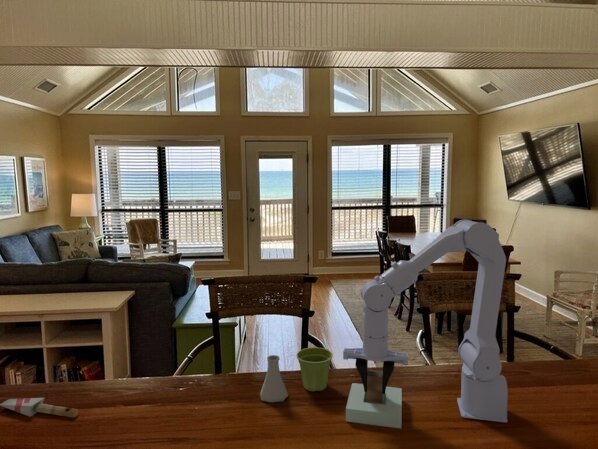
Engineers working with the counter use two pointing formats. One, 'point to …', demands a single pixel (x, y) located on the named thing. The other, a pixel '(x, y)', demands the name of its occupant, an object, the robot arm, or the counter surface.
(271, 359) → the flask
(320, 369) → the plant pot
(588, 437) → the counter surface
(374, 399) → the walnut peg
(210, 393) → the counter surface
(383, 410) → the socket block
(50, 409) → the grey and wooden tool
